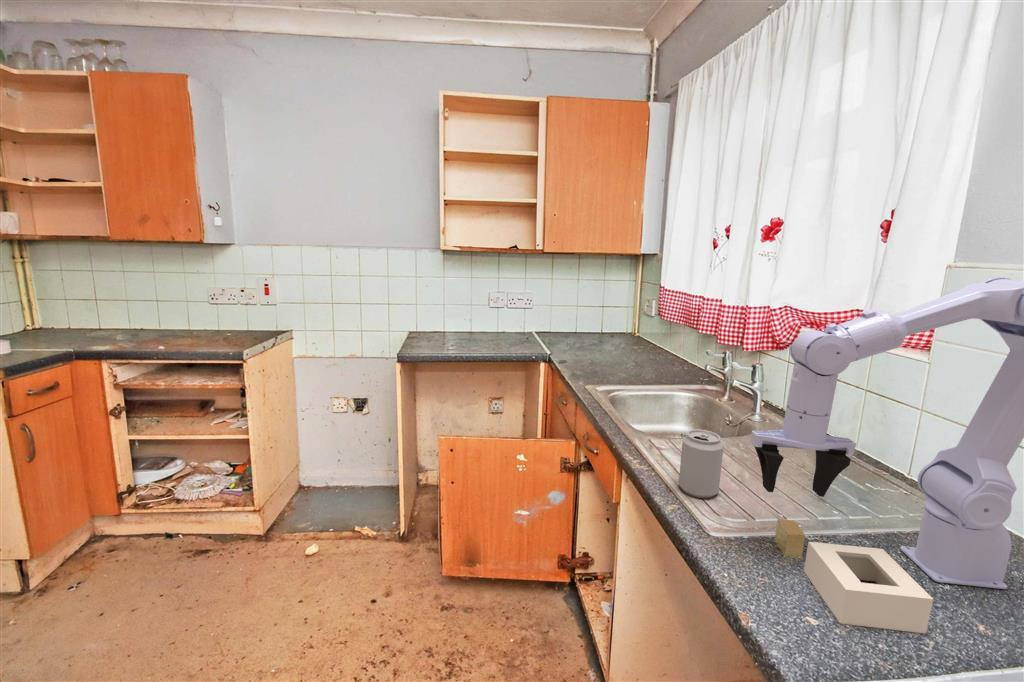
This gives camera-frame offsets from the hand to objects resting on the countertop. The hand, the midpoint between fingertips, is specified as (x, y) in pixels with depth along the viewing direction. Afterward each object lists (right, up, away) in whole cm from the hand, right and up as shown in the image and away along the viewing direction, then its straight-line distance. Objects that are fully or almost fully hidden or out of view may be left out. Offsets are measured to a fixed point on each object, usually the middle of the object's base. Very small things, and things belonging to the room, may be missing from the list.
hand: (792, 491), depth 73 cm
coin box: (+4, -12, -9) cm, 16 cm away
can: (-7, -7, +20) cm, 22 cm away
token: (0, -10, +2) cm, 10 cm away
